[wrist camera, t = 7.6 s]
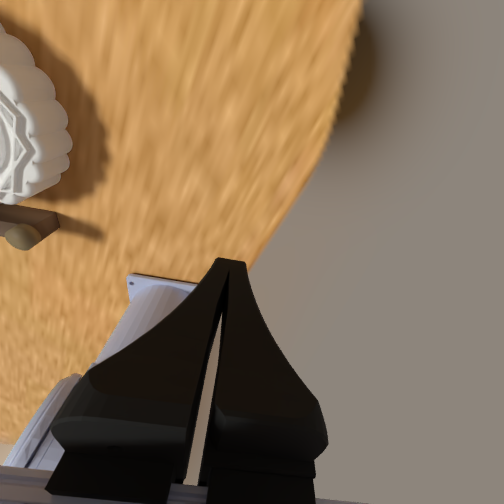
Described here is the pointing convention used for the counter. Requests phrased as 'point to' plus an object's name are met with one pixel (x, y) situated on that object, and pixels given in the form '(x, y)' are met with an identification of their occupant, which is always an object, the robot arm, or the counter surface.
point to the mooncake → (28, 125)
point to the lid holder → (26, 225)
